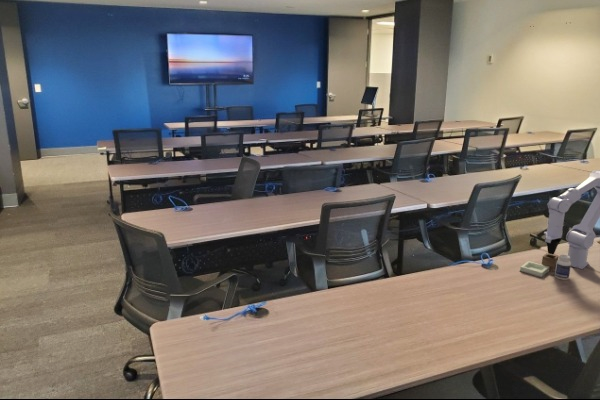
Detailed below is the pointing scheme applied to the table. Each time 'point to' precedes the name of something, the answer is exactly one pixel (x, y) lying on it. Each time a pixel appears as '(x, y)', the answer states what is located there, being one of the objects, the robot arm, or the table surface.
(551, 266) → the walnut block
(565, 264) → the pill bottle
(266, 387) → the table surface
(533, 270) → the tray
